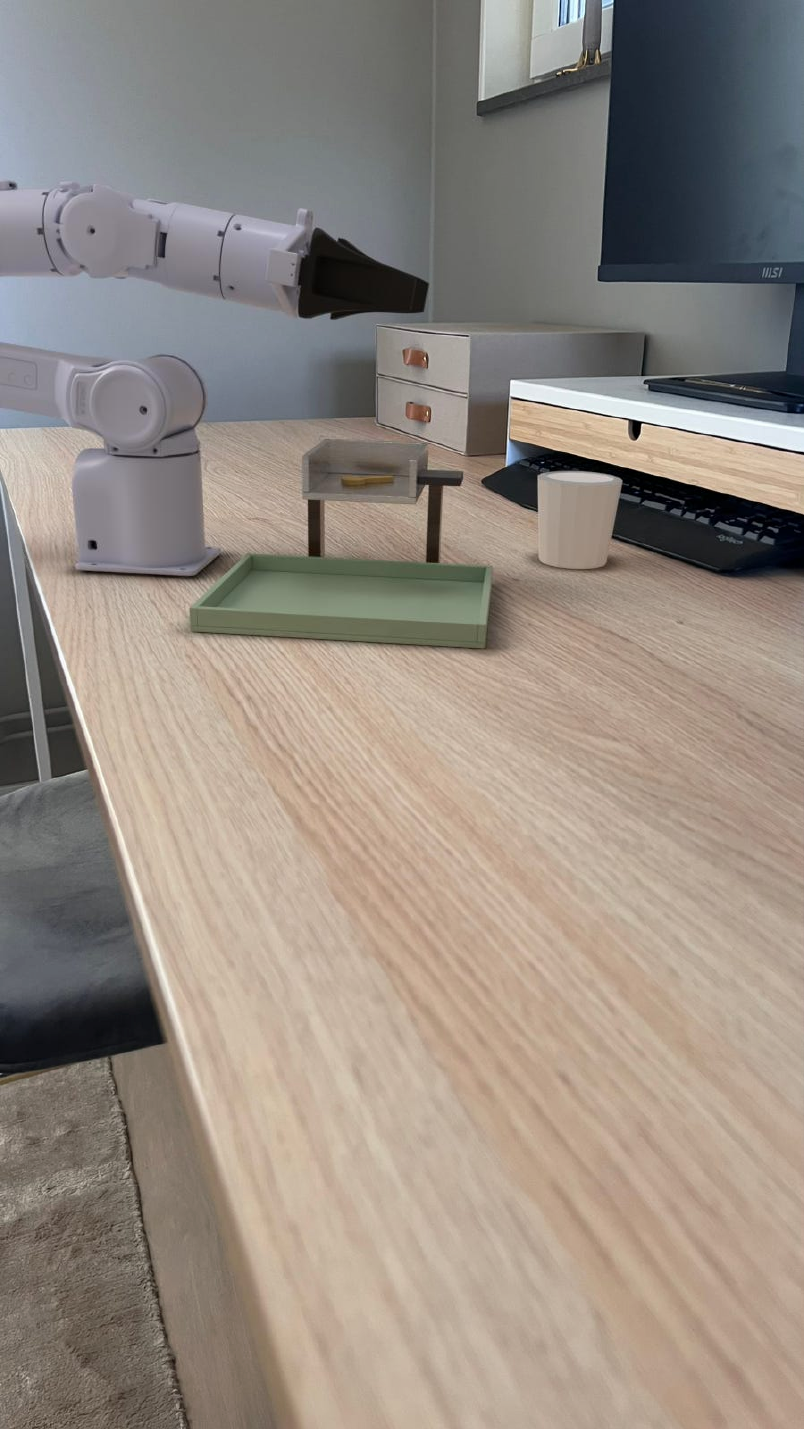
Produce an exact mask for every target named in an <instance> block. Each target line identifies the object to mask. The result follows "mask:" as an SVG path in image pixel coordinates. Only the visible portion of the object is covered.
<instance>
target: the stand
mask: <svg viewBox="0 0 804 1429" xmlns="http://www.w3.org/2000/svg"><path fill="white" fill-rule="evenodd" d="M427 490H428V491H427V492H428V494H427V517H426V518H427V519H426V520H427V521H426V545H425V546H426V550H425V551H426V552H425V562H426V563H441V554H442V553H441V551H442V550H441V548H442V528H443V526H442V525H443V502H444V486H438V485H428V488H427ZM325 502H326V500H307V556H310V557H326V534H325V532H326V529H325V528H326V526H325V524H326V518H325V515H326V513H325V511H326V510H325V509H326V508H325V507H326V506H325V505H326V504H325Z"/></svg>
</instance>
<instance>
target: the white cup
mask: <svg viewBox="0 0 804 1429" xmlns="http://www.w3.org/2000/svg"><path fill="white" fill-rule="evenodd" d="M622 485H623V480H622V479H621V478H620V477H619V476H615V475H612V474H606V473H600V472H595V471H594V472H593V471H583V470H557V471H556V470H555V471H548V472H542V473H540V474H538V475H537V523H538V524H537V526H538V527H537V528H538V530H537V531H538V533H537V534H538V535H537V536H538V538H537V539H538V559H539V562H540V563H543V564H545V565H547V566H551V567H555V568H562V569H568V570H569V569H570V570H590V569H598V568H601V567H604V566H605V565H606V564H607V561H608V556H609V551H610V547H611V541H612V538H613V537H612V536H613V531H614V526H615V521H616V516H617V511H618V507H619V500H620V495H621V490H622Z"/></svg>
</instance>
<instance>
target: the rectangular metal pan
mask: <svg viewBox="0 0 804 1429" xmlns="http://www.w3.org/2000/svg"><path fill="white" fill-rule="evenodd" d="M428 464H429V442H417V441H416V442H414V441H393V440H392V441H389V440H369V439H368V440H367V439H366V440H365V439H364V440H363V439H341V438H324V439H322V440H321V441H319V443H317V444H316V445H315V446H313V447H312V448H310V449H309V450H308V451H306V452H305V453H304V454H302V455H301V491H302V493H301V498H302V500H306V501H308V500H325V501H330V502H331V501H332V502H354V503H370V504H371V503H374V504H375V503H376V504H395V505H396V504H397V505H415V506H416V505H417V502H418V501H419V499H420V496H421V495H422V493H423V491H424V489H425V487H426V486H429V485H438V486H443V487H444V486H445V487H461V486H462V483H463V480H464V471H463V470H447V469H445V470H443V469H428V468H429V467H428ZM388 475H391V476H393V477H394V482H386V483H366V484H364V485H344V484H342V483H341V478H342V477H344V476H361V477H367V476H388Z"/></svg>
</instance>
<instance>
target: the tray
mask: <svg viewBox="0 0 804 1429" xmlns="http://www.w3.org/2000/svg"><path fill="white" fill-rule="evenodd" d="M493 570H494V566H493V565H482V564H466V563H465V564H463V563H445V562H440V563H426V561H425V562H423V561H407V560H406V561H404V560H403V561H402V560H387V559H386V560H384V559H367V558H347V557H345V558H344V557H330V556H329V557H327V556H325V557H310V556H308V555H292V554H291V555H289V554H287V555H286V554H272V553H271V554H270V553H269V554H268V553H251V552H250V553H249V552H247V553H245V555H244V556H242V557H241V558H240V559H239V560H238V561H237V562H236V563H235V564H234V565H233V566H232V567H231V568H230V569H229V570H227V571H226V573H225V574H223V576H221V577H220V579H218V580H217V581H216V582H215V583H214V584H213V585H212V586H211V587H209V589H207V590H206V592H204V593H203V594H202V595H201V596H200V597H199V598H197V600H196V601H195V602H193V604H192V605H190V607H189V610H188V611H189V625H190V626H189V627H190V630H189V631H190V632H197V633H211V634H229V635H230V634H231V635H245V636H247V635H248V636H265V637H282V638H298V639H315V640H329V641H330V640H332V641H349V642H363V643H364V642H366V643H380V644H381V643H383V644H398V645H399V644H401V645H414V646H415V645H418V646H432V647H451V648H467V649H468V648H469V649H483V650H484V649H485V648H486V642H487V641H486V640H487V632H488V623H489V614H490V606H491V596H492V587H493V574H494V573H493V572H494V571H493Z"/></svg>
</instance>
